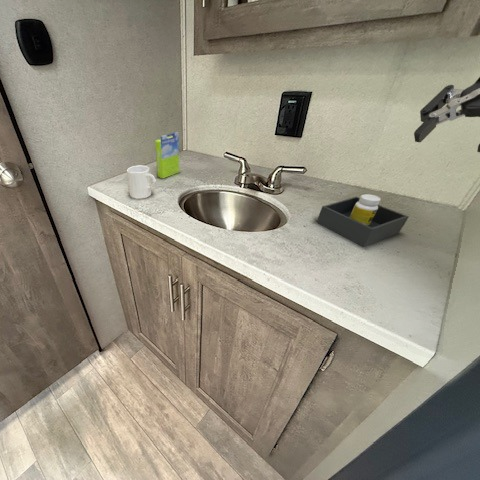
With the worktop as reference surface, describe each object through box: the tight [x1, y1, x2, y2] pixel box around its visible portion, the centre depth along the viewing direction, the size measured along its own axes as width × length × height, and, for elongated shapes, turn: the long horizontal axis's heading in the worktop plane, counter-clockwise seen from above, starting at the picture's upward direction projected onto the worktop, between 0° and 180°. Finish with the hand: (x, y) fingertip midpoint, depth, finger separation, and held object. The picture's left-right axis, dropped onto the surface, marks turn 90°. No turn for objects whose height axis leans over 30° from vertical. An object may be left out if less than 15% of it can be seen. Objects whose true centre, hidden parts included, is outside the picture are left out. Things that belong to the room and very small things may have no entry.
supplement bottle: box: [349, 193, 382, 226], centre depth 63 cm, size 5×5×8 cm
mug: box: [126, 164, 157, 200], centre depth 88 cm, size 8×12×10 cm
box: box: [154, 131, 180, 179], centre depth 103 cm, size 10×4×17 cm, turn 132°
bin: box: [316, 196, 410, 248], centre depth 65 cm, size 13×13×5 cm
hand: (446, 144), depth 42 cm, fingers open, 8 cm apart
